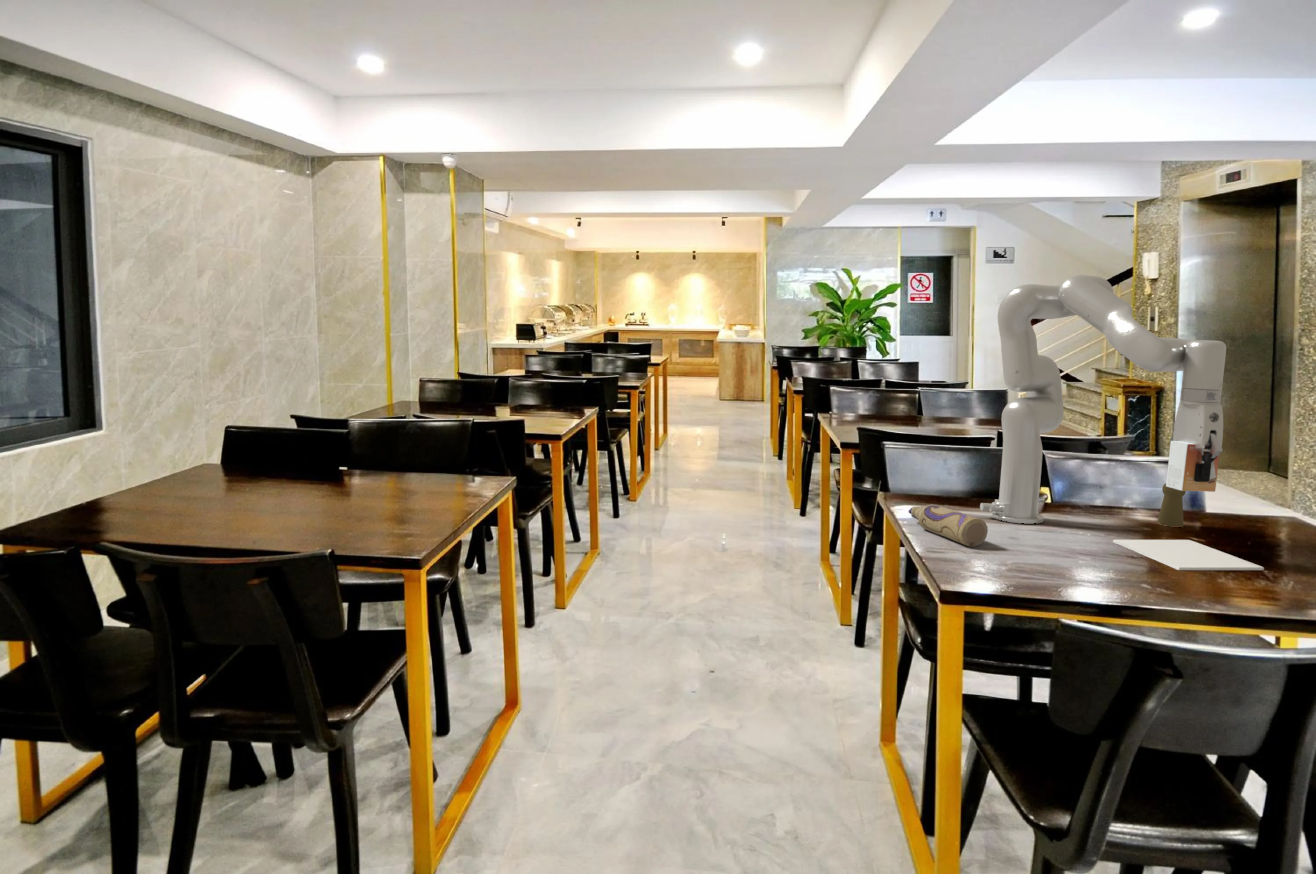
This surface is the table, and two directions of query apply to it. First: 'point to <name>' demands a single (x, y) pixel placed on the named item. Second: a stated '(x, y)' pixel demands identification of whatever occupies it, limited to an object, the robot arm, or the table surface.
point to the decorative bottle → (951, 524)
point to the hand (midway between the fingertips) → (1191, 478)
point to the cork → (1171, 507)
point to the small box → (1188, 468)
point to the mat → (1187, 555)
